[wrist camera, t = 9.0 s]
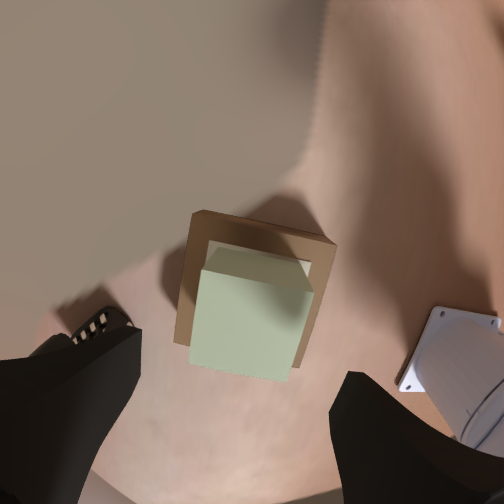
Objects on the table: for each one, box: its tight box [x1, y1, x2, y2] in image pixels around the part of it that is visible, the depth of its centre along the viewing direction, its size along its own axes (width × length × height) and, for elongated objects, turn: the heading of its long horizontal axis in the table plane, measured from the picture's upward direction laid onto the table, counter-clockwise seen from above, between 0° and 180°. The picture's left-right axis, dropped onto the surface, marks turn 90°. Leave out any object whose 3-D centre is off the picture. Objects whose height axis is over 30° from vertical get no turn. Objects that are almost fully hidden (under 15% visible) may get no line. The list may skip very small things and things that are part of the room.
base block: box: [173, 210, 337, 368], centre depth 18 cm, size 8×8×3 cm
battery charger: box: [29, 306, 133, 357], centre depth 15 cm, size 7×4×11 cm, turn 126°
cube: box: [188, 247, 314, 382], centre depth 14 cm, size 4×4×4 cm
